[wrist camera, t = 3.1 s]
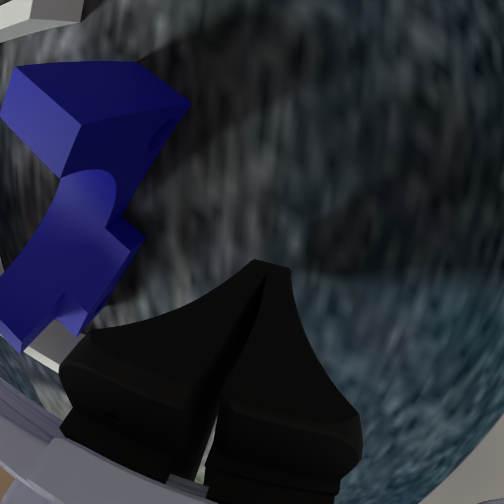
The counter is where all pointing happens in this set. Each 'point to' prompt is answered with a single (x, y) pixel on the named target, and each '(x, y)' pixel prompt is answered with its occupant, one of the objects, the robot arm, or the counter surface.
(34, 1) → the bracket
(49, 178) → the counter surface
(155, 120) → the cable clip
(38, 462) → the robot arm
